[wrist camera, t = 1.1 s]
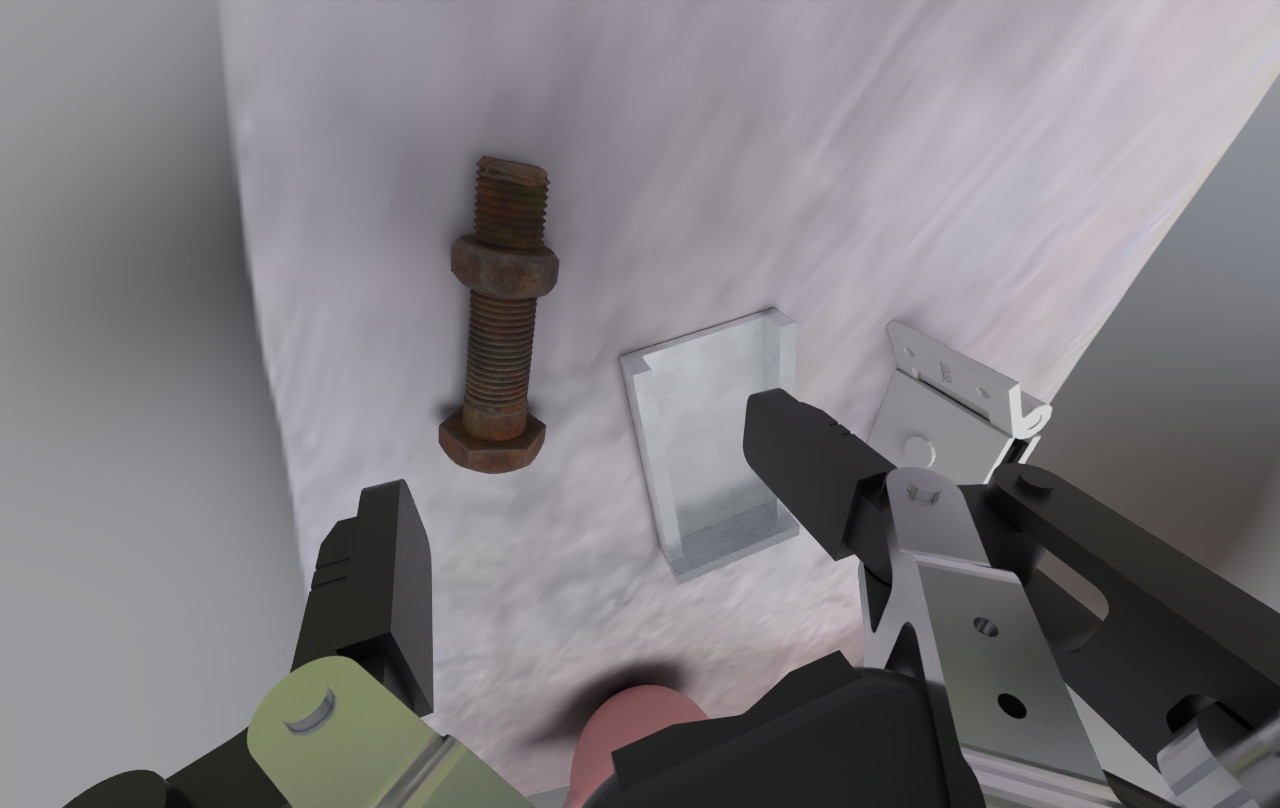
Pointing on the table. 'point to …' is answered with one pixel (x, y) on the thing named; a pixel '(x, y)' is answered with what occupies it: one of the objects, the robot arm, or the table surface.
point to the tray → (709, 439)
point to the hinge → (952, 412)
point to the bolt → (501, 318)
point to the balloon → (623, 732)
